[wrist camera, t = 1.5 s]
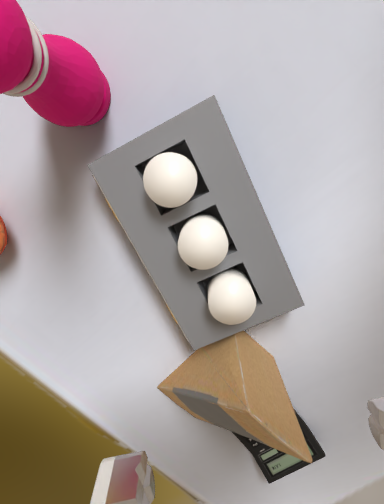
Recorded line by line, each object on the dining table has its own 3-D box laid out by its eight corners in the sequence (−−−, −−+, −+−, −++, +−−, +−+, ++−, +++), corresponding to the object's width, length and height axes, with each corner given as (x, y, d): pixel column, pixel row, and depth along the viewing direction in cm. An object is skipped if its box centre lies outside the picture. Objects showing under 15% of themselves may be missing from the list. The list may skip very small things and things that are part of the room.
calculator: (277, 387, 42) (282, 404, 40) (318, 439, 45) (326, 458, 42) (223, 418, 44) (225, 435, 41) (266, 465, 47) (270, 485, 44)
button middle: (213, 205, 32) (215, 212, 28) (232, 245, 34) (236, 257, 30) (172, 225, 33) (168, 234, 29) (192, 263, 34) (191, 277, 30)
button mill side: (184, 144, 31) (181, 142, 27) (205, 188, 32) (206, 193, 28) (141, 167, 31) (133, 168, 27) (164, 209, 33) (159, 216, 29)
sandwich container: (154, 386, 43) (130, 500, 28) (230, 318, 39) (248, 410, 25) (197, 419, 44) (195, 543, 30) (274, 357, 41) (315, 464, 26)
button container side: (239, 260, 34) (244, 273, 30) (256, 296, 35) (263, 313, 31) (200, 278, 35) (200, 293, 31) (218, 312, 36) (220, 331, 32)
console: (212, 102, 31) (214, 94, 28) (293, 290, 37) (304, 305, 34) (96, 166, 34) (82, 167, 30) (190, 333, 40) (189, 352, 36)
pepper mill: (39, 112, 32) (-196, 43, 13) (59, 41, 30) (-186, -164, 11) (102, 142, 33) (-33, 117, 14) (125, 74, 31) (3, -64, 12)
